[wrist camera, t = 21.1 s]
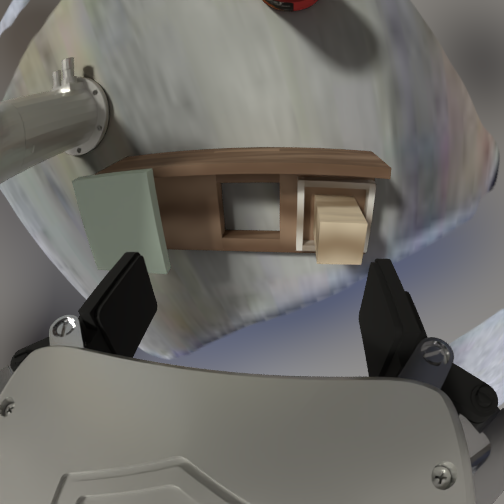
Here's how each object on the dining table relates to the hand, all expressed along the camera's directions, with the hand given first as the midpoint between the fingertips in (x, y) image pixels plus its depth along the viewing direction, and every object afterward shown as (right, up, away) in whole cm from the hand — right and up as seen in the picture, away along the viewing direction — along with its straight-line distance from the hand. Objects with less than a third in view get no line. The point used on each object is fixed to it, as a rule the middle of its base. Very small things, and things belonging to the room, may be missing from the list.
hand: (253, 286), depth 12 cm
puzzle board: (-1, +8, +29) cm, 30 cm away
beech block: (+10, +6, +25) cm, 28 cm away
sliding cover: (-16, +5, +22) cm, 28 cm away
